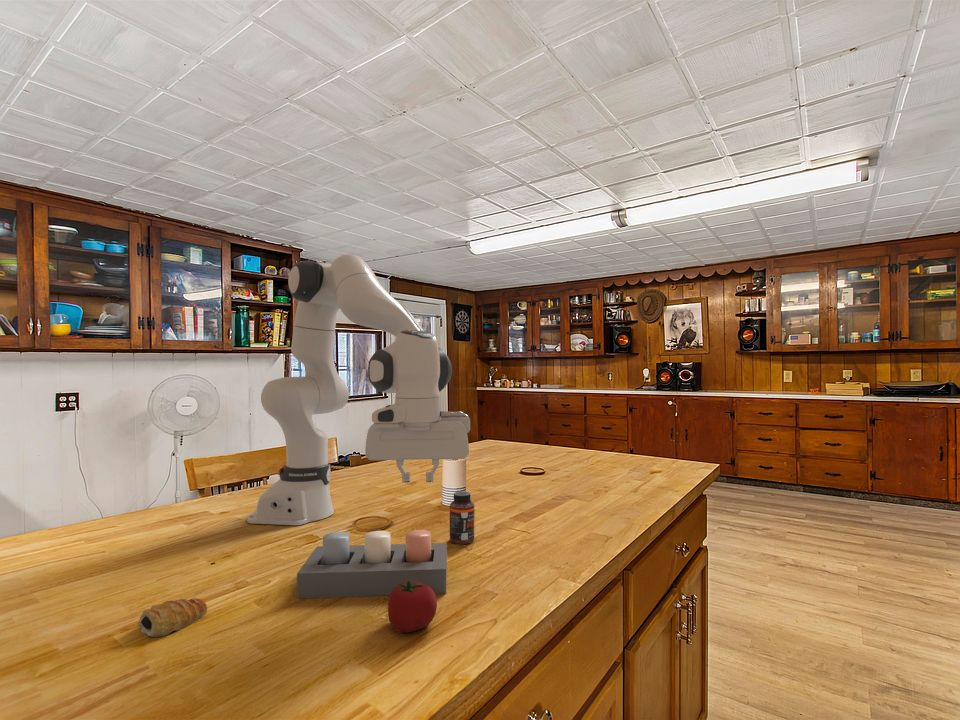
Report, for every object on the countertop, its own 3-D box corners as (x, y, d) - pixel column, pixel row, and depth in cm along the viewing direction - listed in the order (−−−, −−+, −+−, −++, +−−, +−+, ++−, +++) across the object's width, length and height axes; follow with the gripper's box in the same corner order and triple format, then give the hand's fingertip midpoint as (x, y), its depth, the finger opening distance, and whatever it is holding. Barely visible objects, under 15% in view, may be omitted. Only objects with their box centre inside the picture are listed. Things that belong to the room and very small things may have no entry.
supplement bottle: (471, 546, 113) (471, 497, 113) (446, 544, 114) (446, 496, 114) (476, 537, 119) (476, 490, 119) (453, 535, 120) (453, 489, 120)
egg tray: (297, 598, 88) (297, 573, 88) (316, 568, 101) (316, 546, 101) (446, 593, 90) (446, 568, 90) (446, 564, 103) (446, 542, 103)
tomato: (392, 644, 74) (392, 596, 74) (381, 619, 81) (381, 575, 81) (442, 632, 77) (442, 586, 77) (427, 609, 84) (427, 567, 84)
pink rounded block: (404, 570, 93) (404, 538, 93) (407, 559, 98) (406, 530, 98) (430, 569, 94) (430, 538, 94) (431, 559, 98) (431, 529, 99)
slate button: (319, 572, 92) (319, 541, 92) (326, 562, 97) (326, 532, 97) (346, 572, 93) (346, 540, 93) (351, 561, 98) (351, 531, 98)
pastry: (195, 606, 86) (195, 584, 86) (215, 617, 82) (215, 594, 82) (134, 630, 78) (134, 606, 78) (154, 644, 74) (154, 619, 74)
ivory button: (362, 571, 93) (362, 540, 93) (367, 560, 98) (366, 531, 98) (388, 570, 93) (388, 539, 93) (392, 560, 98) (391, 530, 98)
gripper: (469, 409, 100) (470, 477, 100) (369, 410, 99) (369, 478, 99) (471, 412, 94) (471, 484, 93) (363, 414, 92) (363, 486, 92)
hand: (418, 481), depth 96 cm, fingers open, 3 cm apart
